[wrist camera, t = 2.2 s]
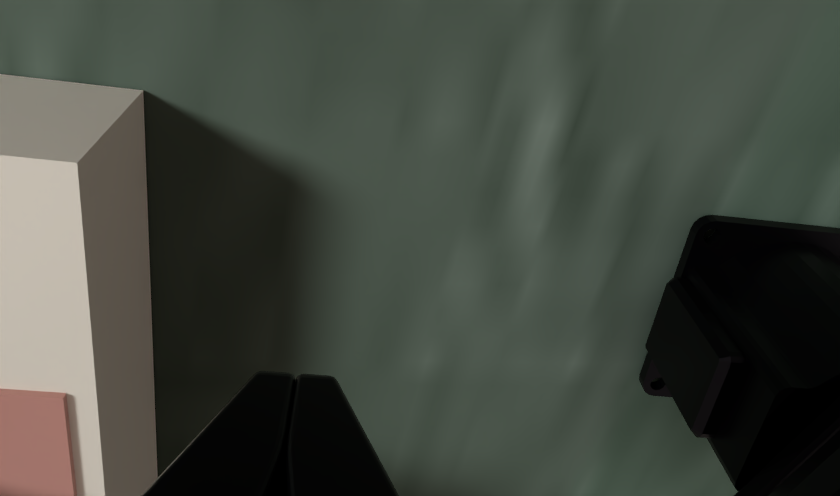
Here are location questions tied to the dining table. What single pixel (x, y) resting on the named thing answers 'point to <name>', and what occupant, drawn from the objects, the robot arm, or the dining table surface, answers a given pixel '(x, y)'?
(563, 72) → the dining table surface
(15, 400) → the breaker housing
